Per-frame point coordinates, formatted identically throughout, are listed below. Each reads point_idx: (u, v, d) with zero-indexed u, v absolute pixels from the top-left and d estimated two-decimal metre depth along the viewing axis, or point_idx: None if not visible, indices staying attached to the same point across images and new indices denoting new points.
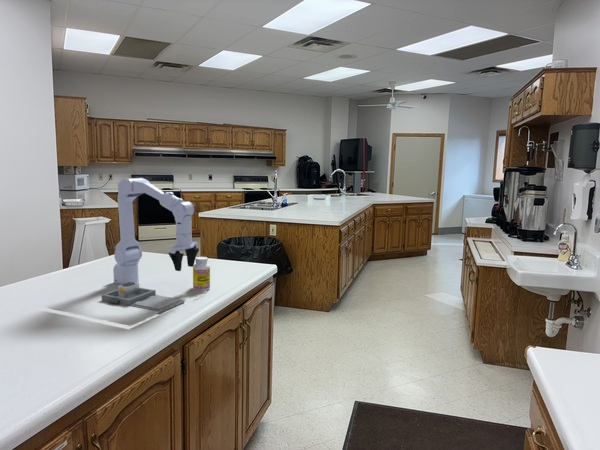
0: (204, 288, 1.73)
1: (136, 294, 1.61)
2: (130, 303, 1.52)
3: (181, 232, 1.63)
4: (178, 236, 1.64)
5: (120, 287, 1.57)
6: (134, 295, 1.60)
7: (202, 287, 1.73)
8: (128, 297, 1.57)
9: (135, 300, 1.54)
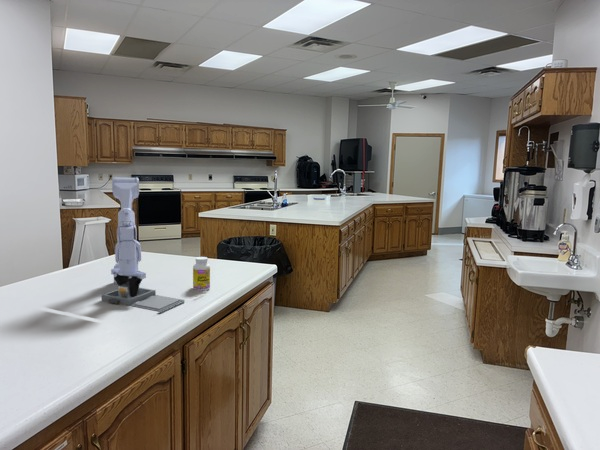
0: (204, 288, 1.73)
1: None
2: (130, 303, 1.52)
3: (119, 257, 1.56)
4: None
5: (120, 287, 1.57)
6: None
7: (202, 287, 1.73)
8: (128, 297, 1.57)
9: (135, 300, 1.54)
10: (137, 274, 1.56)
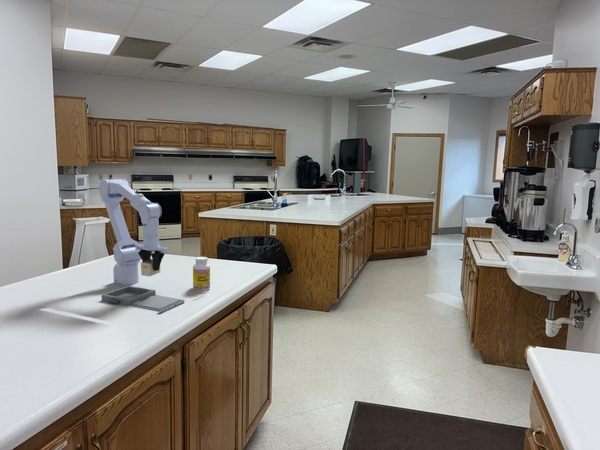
0: (204, 288, 1.73)
1: (157, 270, 1.71)
2: (130, 303, 1.52)
3: (146, 233, 1.66)
4: None
5: (142, 263, 1.67)
6: (155, 271, 1.70)
7: (202, 287, 1.73)
8: (150, 273, 1.67)
9: (135, 300, 1.54)
10: (160, 249, 1.66)
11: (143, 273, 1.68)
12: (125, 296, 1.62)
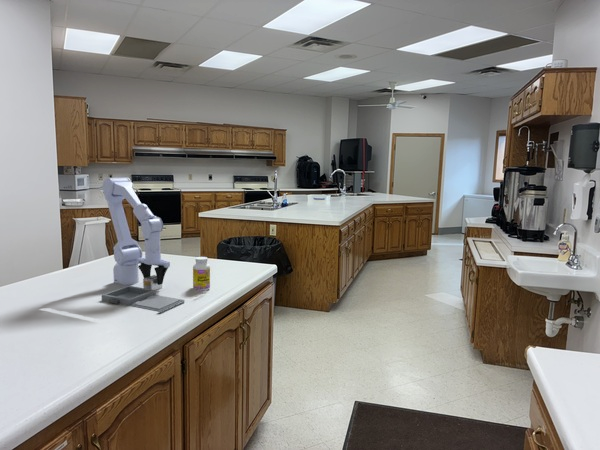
0: (204, 288, 1.73)
1: (159, 286, 1.72)
2: (130, 303, 1.52)
3: (148, 248, 1.67)
4: None
5: (145, 280, 1.69)
6: (157, 288, 1.71)
7: (202, 287, 1.73)
8: (152, 289, 1.69)
9: (135, 300, 1.54)
10: (162, 263, 1.67)
11: None
12: (125, 296, 1.62)
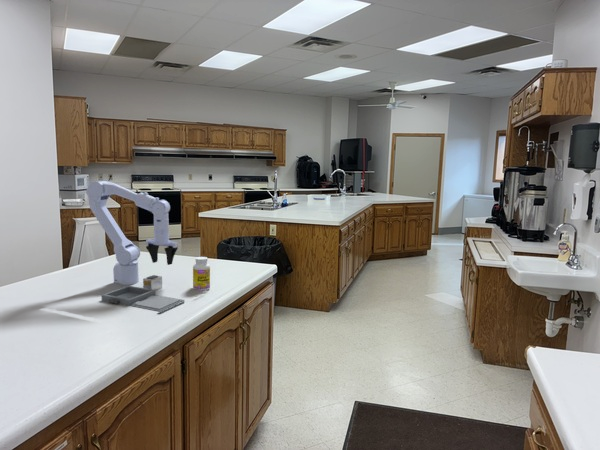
0: (204, 288, 1.73)
1: (159, 286, 1.72)
2: (130, 303, 1.52)
3: (161, 229, 1.74)
4: None
5: (145, 280, 1.69)
6: (157, 288, 1.71)
7: (202, 287, 1.73)
8: (152, 289, 1.69)
9: (135, 300, 1.54)
10: (170, 243, 1.74)
11: None
12: (125, 296, 1.62)
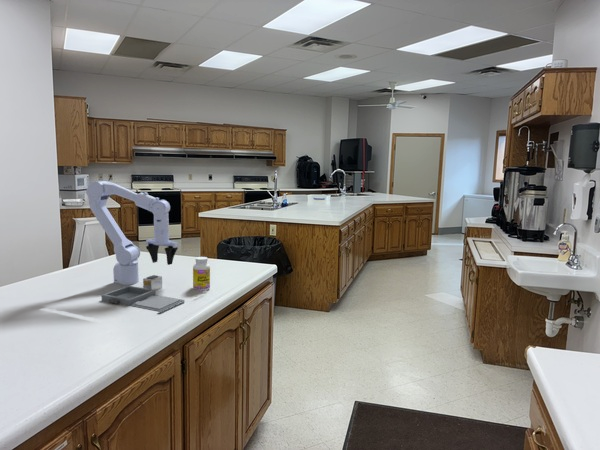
0: (204, 288, 1.73)
1: (159, 286, 1.72)
2: (130, 303, 1.52)
3: (161, 229, 1.74)
4: None
5: (145, 280, 1.69)
6: (157, 288, 1.71)
7: (202, 287, 1.73)
8: (152, 289, 1.69)
9: (135, 300, 1.54)
10: (170, 243, 1.74)
11: None
12: (125, 296, 1.62)
